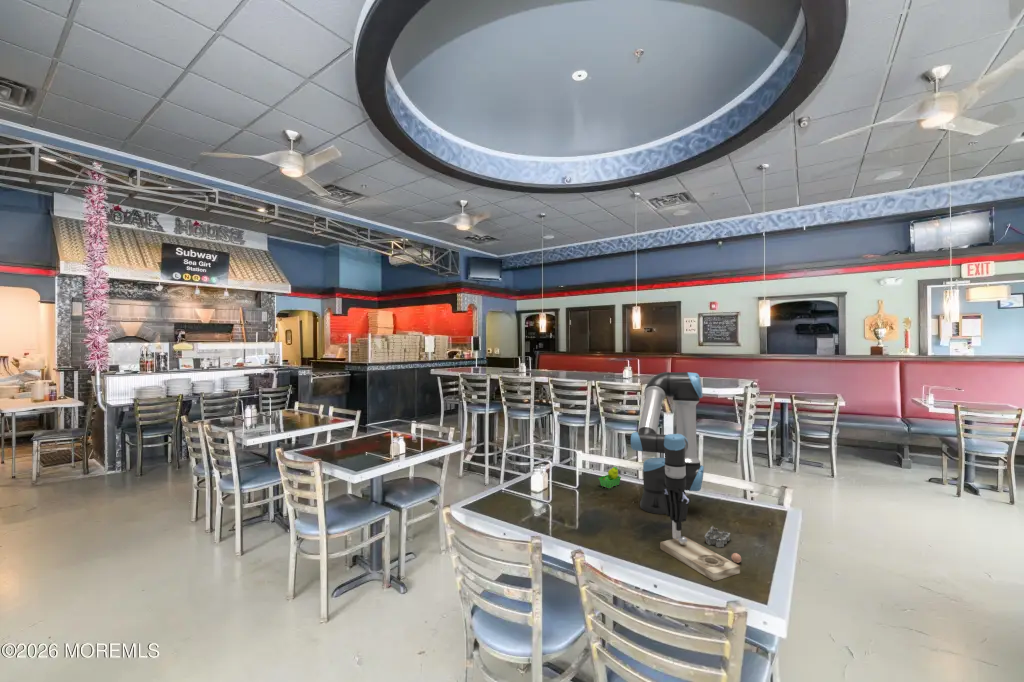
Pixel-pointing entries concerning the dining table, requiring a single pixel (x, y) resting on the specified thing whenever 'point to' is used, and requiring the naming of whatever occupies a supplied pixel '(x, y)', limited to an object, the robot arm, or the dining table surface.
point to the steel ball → (682, 540)
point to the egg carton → (716, 537)
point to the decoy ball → (736, 558)
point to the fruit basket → (610, 478)
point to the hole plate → (701, 559)
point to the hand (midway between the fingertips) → (676, 537)
